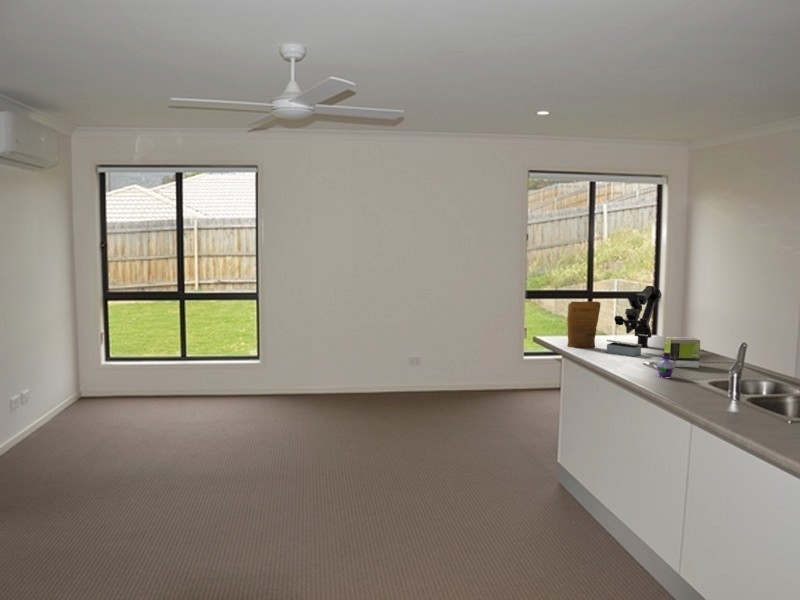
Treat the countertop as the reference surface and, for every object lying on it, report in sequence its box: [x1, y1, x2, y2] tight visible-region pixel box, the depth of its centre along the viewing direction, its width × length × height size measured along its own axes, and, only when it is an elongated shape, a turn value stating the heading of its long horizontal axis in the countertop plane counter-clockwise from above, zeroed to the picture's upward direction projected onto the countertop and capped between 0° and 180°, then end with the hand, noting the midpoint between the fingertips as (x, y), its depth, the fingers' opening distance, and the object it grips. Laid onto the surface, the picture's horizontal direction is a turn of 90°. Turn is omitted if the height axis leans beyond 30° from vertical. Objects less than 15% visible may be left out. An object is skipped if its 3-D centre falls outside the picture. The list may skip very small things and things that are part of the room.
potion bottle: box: [655, 351, 676, 378], centre depth 305 cm, size 9×9×12 cm
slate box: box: [606, 342, 642, 358], centre depth 362 cm, size 10×16×5 cm, turn 51°
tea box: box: [663, 336, 701, 369], centre depth 332 cm, size 15×10×15 cm
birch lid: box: [606, 339, 642, 346], centre depth 361 cm, size 10×16×1 cm, turn 51°
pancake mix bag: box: [566, 300, 601, 349], centre depth 377 cm, size 7×19×28 cm, turn 83°
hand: (627, 333), depth 364 cm, fingers closed
